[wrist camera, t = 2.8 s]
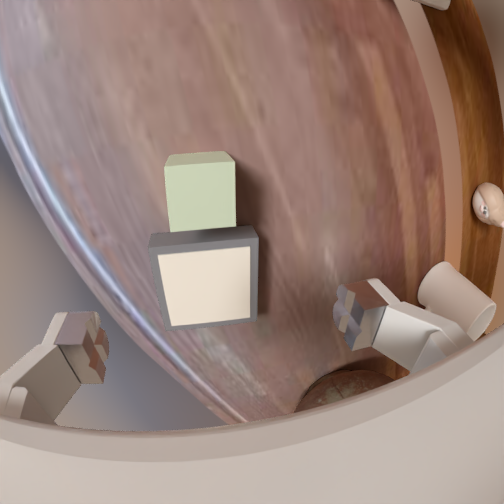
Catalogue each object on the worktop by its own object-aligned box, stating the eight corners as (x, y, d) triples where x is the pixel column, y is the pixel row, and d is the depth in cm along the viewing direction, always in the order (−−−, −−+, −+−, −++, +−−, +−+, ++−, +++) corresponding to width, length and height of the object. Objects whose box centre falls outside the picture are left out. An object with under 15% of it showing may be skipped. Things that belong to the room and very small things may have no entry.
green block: (224, 150, 25) (234, 161, 19) (225, 202, 27) (235, 226, 22) (169, 155, 24) (163, 166, 18) (173, 207, 26) (170, 232, 21)
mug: (403, 322, 43) (442, 369, 32) (400, 288, 38) (448, 339, 28) (450, 287, 42) (491, 326, 32) (451, 252, 38) (501, 291, 27)
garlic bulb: (461, 213, 35) (498, 235, 28) (472, 175, 32) (511, 192, 25) (480, 217, 36) (513, 237, 29) (489, 182, 33) (524, 199, 26)
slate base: (251, 225, 28) (259, 238, 26) (251, 304, 33) (257, 321, 30) (151, 234, 27) (147, 248, 24) (166, 313, 31) (165, 332, 29)
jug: (365, 398, 53) (422, 502, 27) (272, 426, 50) (315, 551, 24) (393, 330, 43) (488, 464, 17) (272, 364, 39) (344, 553, 14)
